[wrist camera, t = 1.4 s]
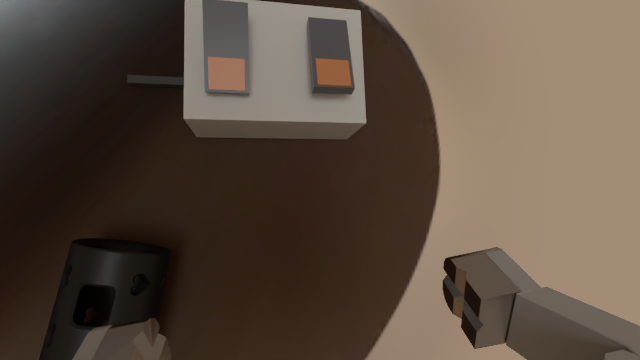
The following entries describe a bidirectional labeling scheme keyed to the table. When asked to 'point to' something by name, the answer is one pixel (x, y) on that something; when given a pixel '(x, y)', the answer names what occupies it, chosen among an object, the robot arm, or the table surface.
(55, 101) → the table surface
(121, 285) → the muzzle brake
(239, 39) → the block
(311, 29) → the block
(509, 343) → the robot arm
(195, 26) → the switch box
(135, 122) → the table surface
